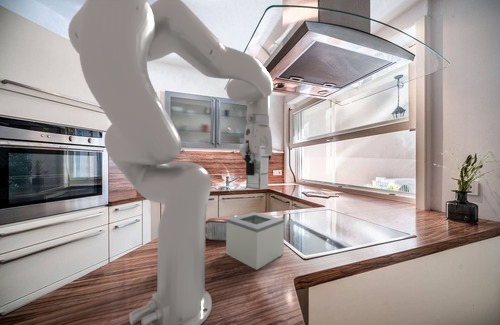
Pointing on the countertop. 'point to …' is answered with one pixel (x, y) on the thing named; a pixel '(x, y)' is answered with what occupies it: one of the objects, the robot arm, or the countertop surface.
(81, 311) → the countertop surface
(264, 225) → the post box
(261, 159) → the syrup box
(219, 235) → the tin
